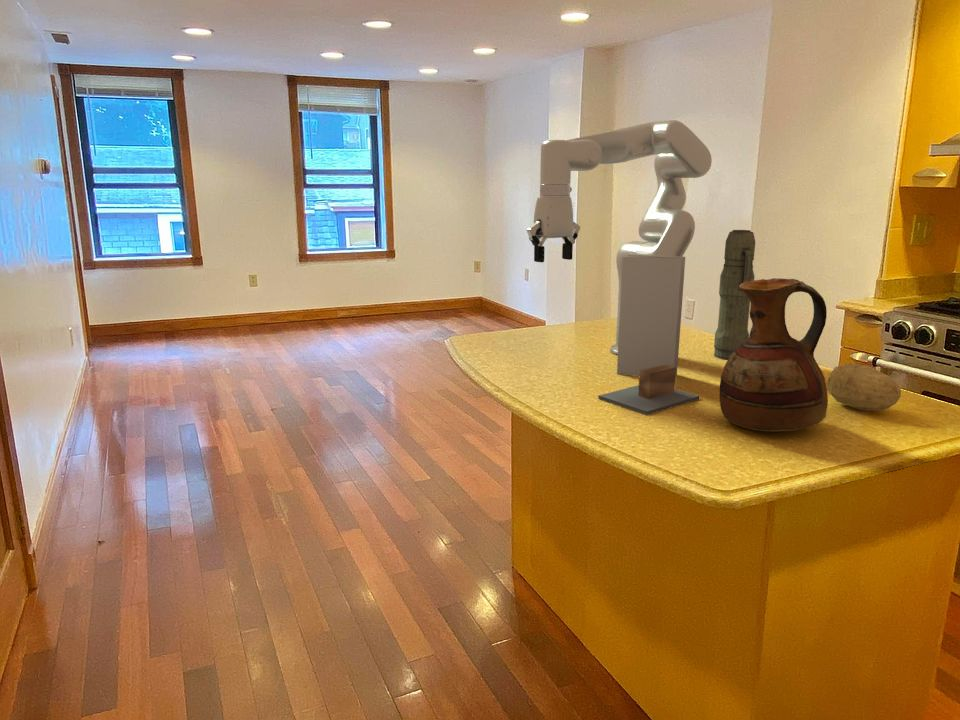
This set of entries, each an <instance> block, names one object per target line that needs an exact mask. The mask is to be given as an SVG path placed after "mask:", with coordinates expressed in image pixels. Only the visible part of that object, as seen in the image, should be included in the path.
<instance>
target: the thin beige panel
mask: <svg viewBox="0 0 960 720" xmlns="http://www.w3.org/2000/svg"><path fill="white" fill-rule="evenodd" d="M685 268H686V256H683V257H679V256H655V255H631V254H628V256H623V261H622V281H621V301H620V321H619V341H618V355H617V362H616V363H617V365H616V366H617V368H616V374H617V375H623V376H624V375H625V376H634V377H639V375H640V370H644V369H648V368H652V367H656V366H660V365H665V364H667V365H671V366H675V367H676V376H677V375H678V365H679V351H680V338H681V337H680V336H681V323H682V322H681V321H682V311H683V310H682V308H683V297H684V296H683V295H684V285H685V284H684V283H685V282H684V280H685V271H686V270H685Z"/></svg>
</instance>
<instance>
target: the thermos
mask: <svg viewBox="0 0 960 720" xmlns="http://www.w3.org/2000/svg"><path fill="white" fill-rule="evenodd" d="M755 251H756V238H755V233H754V232H753V231H751V230H749V229H733V230H732V231H729V232H728V235H727V237H726V240H725V245H724V255H723V257H724V264H723V269H722V270H721V272H720V277H719V287H718V288H719V289H718V294H719V295H718V296H719V306H718V307H719V308H718V318H717V319H718V321H717V328H716V331H715V333H714V340H713V341H714V345H713V347H714V353H713V356H714V358H717V359H720V360H726V361H727V360H728V359H729V357H730V356H731V354H732V353H733V352H734V351H735V350H736V349H737V348H738V346H739V345H740V344H742V343H743V342H745V341H746V340H747V339H748V338H749V335H750V332H749V329H748V327H749V320H750V319H749V317H750V304H751V303H750V299H749V298H748V296H747V295H746V294H745V293H744V292H743V291H742V290H741V289H740V288H739V285H740V284H741V283H743V282H748V281H752V280H755V277H756V276H755V273H754V260H755Z"/></svg>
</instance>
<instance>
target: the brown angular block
mask: <svg viewBox="0 0 960 720" xmlns="http://www.w3.org/2000/svg"><path fill="white" fill-rule="evenodd" d="M676 376H677V375H676V367H675V366H671V365H667V364H665V365H660V366H656V367H652V368H648V369H644V370H640V375H639V376H638V385H639V392H638V396H640V397H643V398H646V399H651V398H655V397H658V396H662V395H665V394H669V393H673V392H674V391H675V389H676V388H675V387H676Z"/></svg>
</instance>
